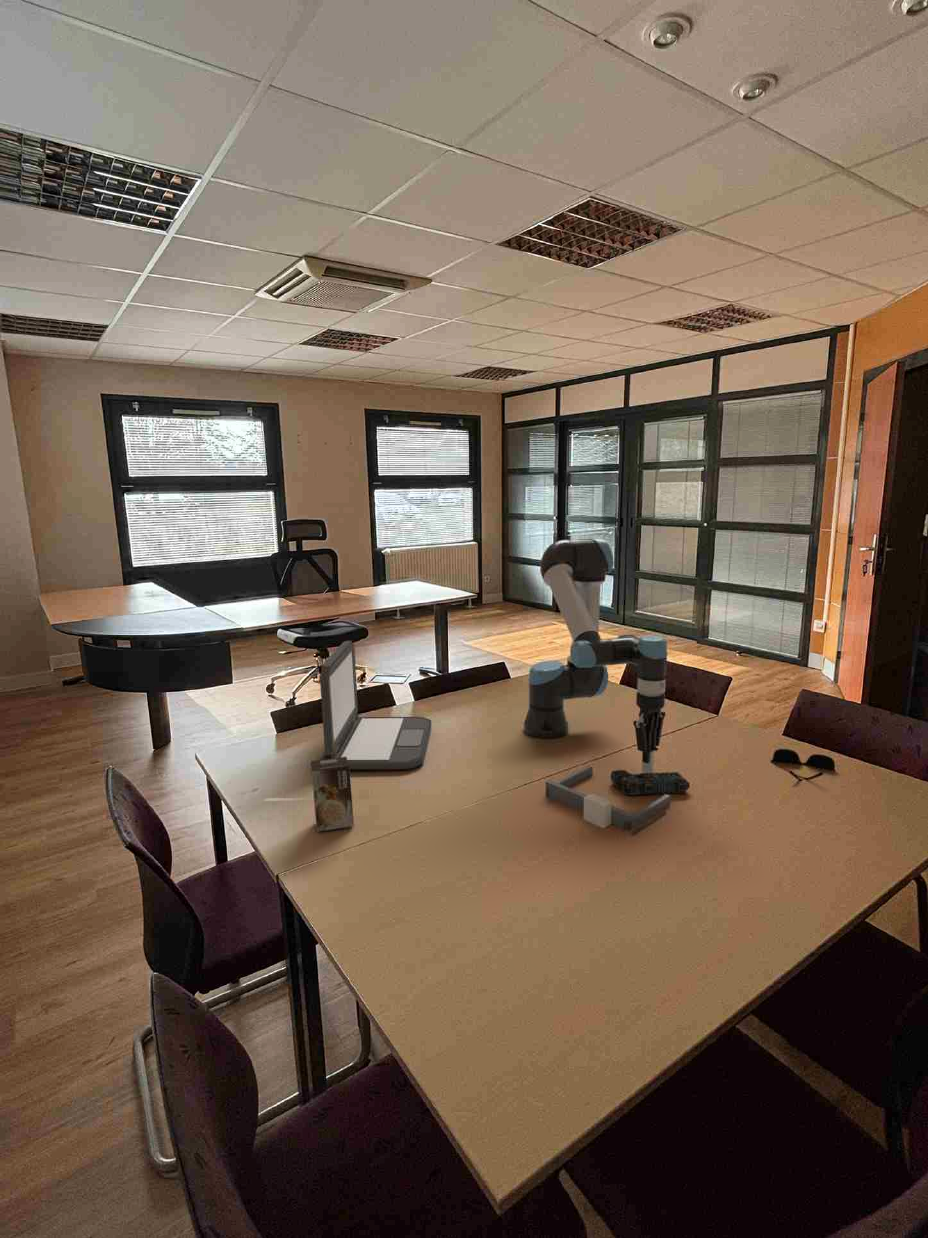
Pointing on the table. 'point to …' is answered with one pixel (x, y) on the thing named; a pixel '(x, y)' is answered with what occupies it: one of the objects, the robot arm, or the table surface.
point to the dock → (601, 804)
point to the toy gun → (649, 782)
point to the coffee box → (332, 793)
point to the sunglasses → (813, 760)
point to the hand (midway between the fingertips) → (647, 772)
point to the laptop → (365, 723)
